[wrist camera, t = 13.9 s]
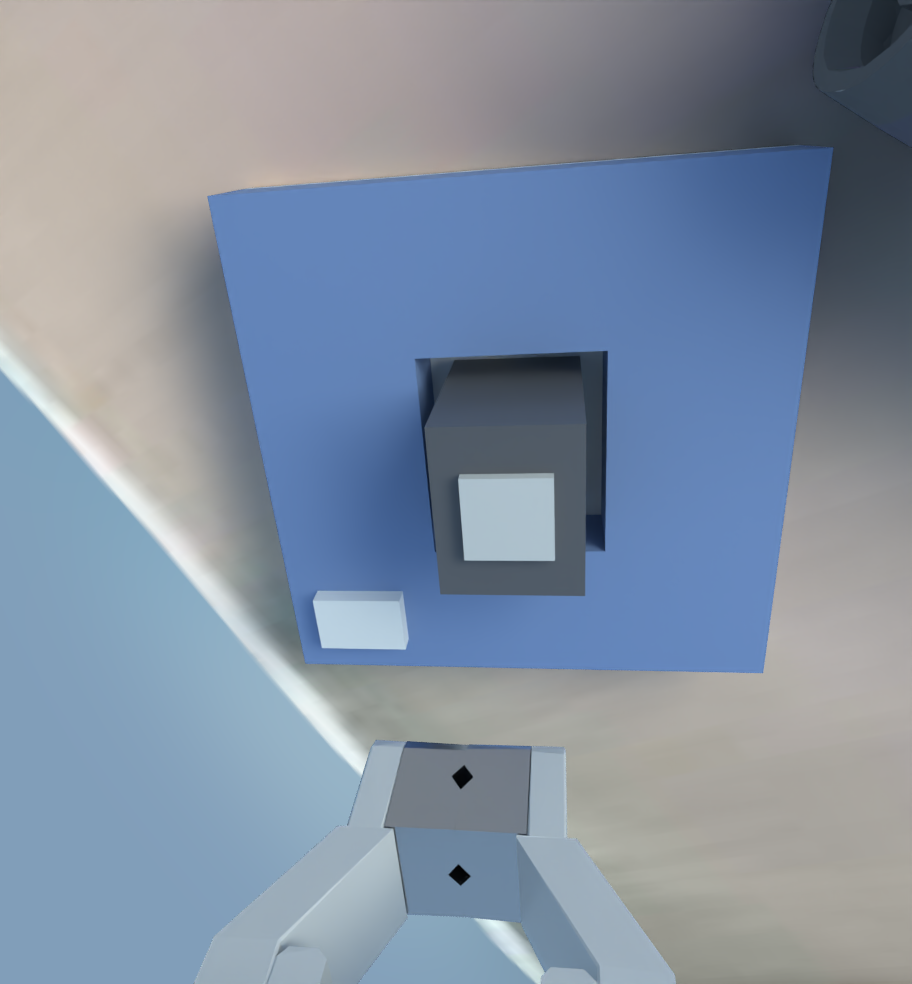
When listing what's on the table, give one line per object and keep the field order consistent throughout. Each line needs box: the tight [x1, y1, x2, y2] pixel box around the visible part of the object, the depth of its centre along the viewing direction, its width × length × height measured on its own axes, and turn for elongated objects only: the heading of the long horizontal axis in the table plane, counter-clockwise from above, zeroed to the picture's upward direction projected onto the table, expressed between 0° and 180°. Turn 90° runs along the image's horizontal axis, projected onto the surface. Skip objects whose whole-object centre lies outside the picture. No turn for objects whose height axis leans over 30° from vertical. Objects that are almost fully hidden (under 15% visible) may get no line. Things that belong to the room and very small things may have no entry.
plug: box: [424, 356, 586, 596], centre depth 22 cm, size 5×4×6 cm
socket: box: [207, 145, 834, 673], centre depth 23 cm, size 16×16×4 cm
